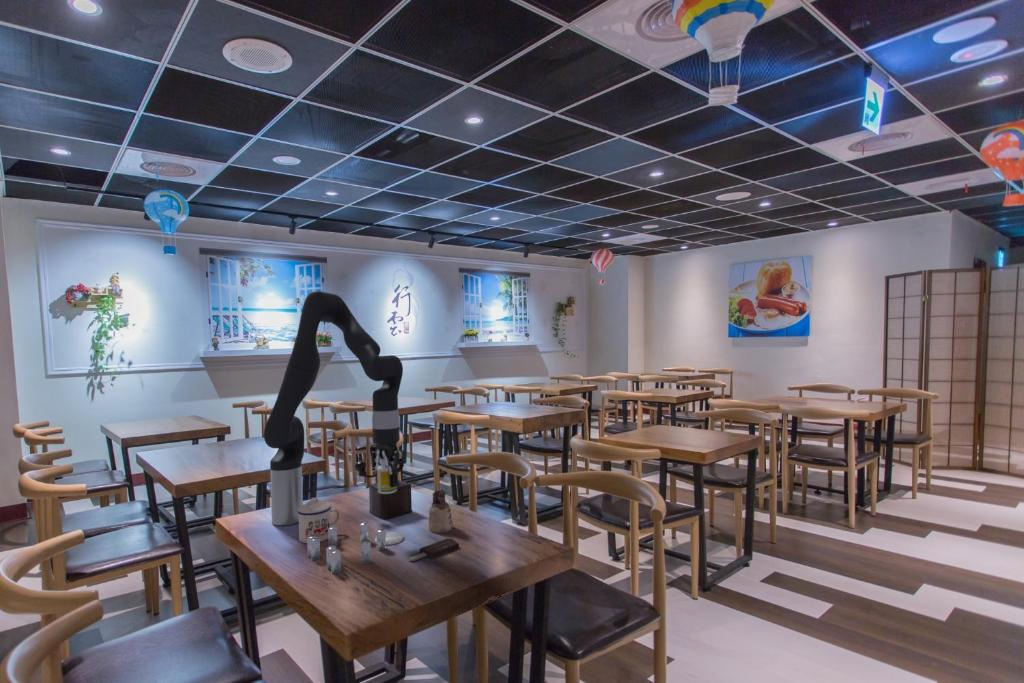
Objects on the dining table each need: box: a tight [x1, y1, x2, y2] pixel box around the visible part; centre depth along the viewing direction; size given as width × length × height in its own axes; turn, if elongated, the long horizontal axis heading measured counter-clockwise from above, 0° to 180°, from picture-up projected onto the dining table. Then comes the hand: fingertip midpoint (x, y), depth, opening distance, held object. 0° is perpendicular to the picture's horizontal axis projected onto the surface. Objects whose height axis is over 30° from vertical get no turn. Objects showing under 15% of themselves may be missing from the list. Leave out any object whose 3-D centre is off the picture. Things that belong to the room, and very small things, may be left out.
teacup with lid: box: [298, 497, 341, 544], centre depth 155 cm, size 12×9×12 cm
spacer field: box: [306, 521, 387, 575], centre depth 142 cm, size 19×18×5 cm
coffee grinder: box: [353, 460, 413, 521], centre depth 173 cm, size 16×11×18 cm
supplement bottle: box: [376, 458, 397, 494], centre depth 151 cm, size 5×5×10 cm
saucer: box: [374, 531, 404, 546], centre depth 151 cm, size 8×8×1 cm
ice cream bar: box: [408, 538, 460, 562], centre depth 141 cm, size 5×2×15 cm
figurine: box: [428, 488, 453, 534], centre depth 159 cm, size 7×7×12 cm
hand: (387, 484), depth 151 cm, fingers closed on supplement bottle, 5 cm apart
